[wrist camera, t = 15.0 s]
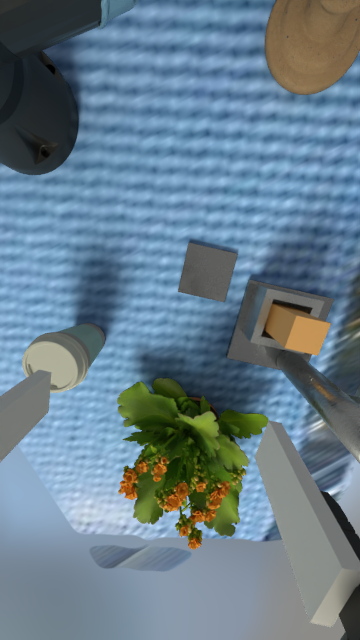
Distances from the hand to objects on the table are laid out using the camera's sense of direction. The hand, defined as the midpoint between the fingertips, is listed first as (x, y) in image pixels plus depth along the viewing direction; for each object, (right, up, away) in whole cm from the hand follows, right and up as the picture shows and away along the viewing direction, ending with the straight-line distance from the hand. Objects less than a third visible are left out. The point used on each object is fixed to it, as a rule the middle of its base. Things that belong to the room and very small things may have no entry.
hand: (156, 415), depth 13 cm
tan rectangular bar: (+17, +7, +24) cm, 30 cm away
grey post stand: (+21, +4, +26) cm, 33 cm away
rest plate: (+6, +13, +24) cm, 28 cm away
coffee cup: (-15, +2, +28) cm, 32 cm away
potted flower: (+5, -14, +31) cm, 34 cm away
